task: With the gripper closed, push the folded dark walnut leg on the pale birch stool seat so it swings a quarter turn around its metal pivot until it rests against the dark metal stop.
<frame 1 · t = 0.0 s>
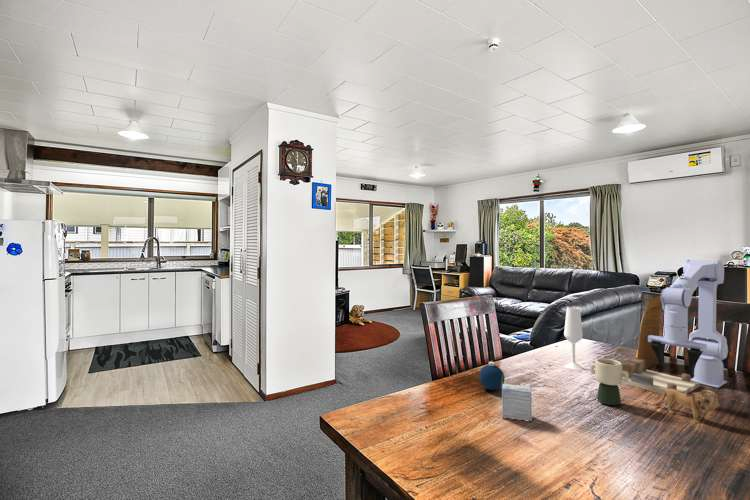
hand: (676, 368, 117), 10 cm above the table, tool pointing down, fingers open, 7 cm apart
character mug: (608, 403, 116), on the table
medicine box: (516, 418, 107), on the table
christmas ornament: (491, 389, 128), on the table
champagne flute: (573, 367, 151), on the table
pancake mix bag: (649, 365, 153), on the table
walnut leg: (633, 367, 138), point 4 cm above the table, hinge at 0.0°
lion figurine: (687, 416, 107), on the table
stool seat: (651, 382, 133), on the table
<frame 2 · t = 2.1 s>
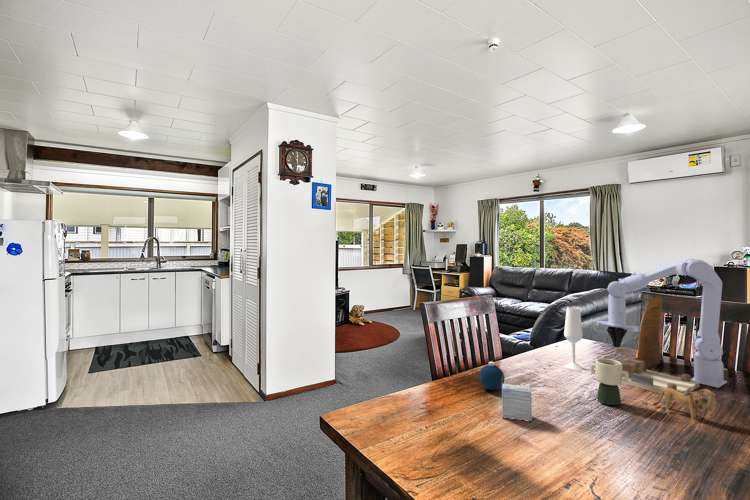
hand: (617, 346, 146), 9 cm above the table, tool pointing down, fingers closed
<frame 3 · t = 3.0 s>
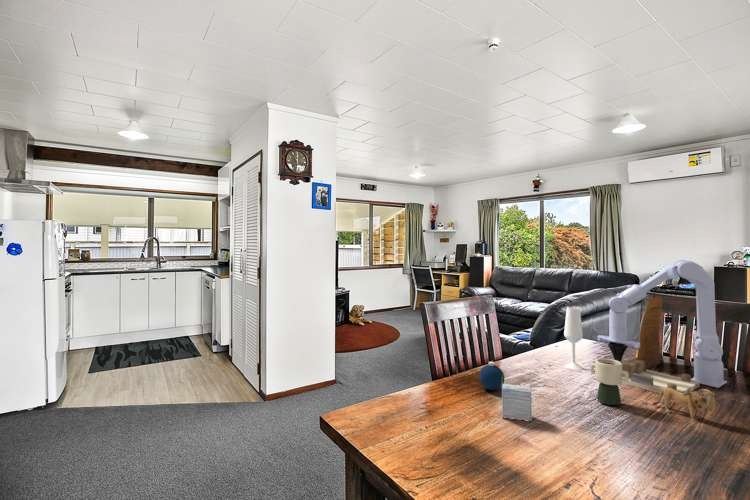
hand: (618, 362, 146), 3 cm above the table, tool pointing down, fingers closed
nothing on the table moved.
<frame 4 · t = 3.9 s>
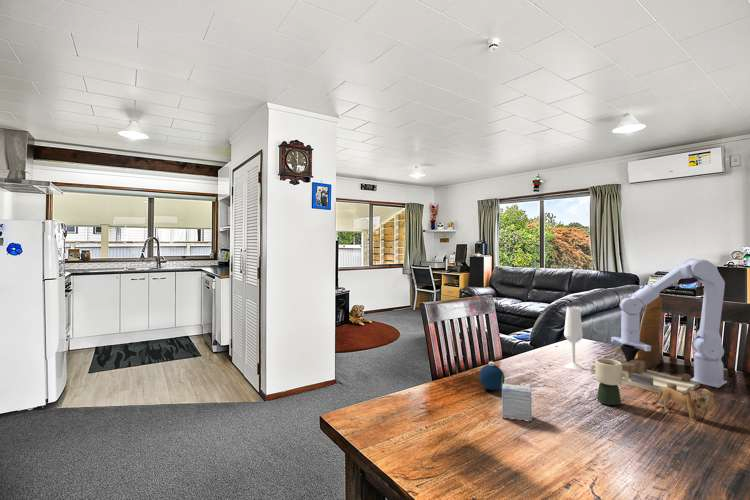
hand: (630, 365, 142), 3 cm above the table, tool pointing down, fingers closed, pressing on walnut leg
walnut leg: (633, 367, 138), point 4 cm above the table, hinge at 1.1°, touching gripper
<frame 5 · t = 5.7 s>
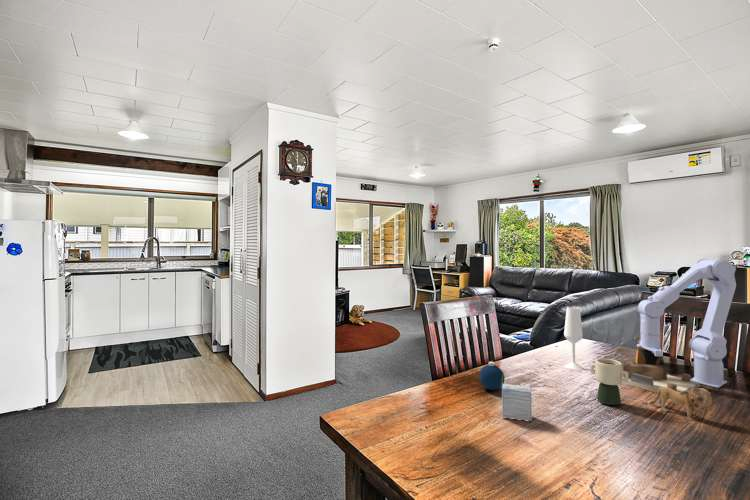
hand: (650, 370, 135), 3 cm above the table, tool pointing down, fingers closed, pressing on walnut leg
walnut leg: (643, 370, 134), point 4 cm above the table, hinge at 45.9°, touching gripper
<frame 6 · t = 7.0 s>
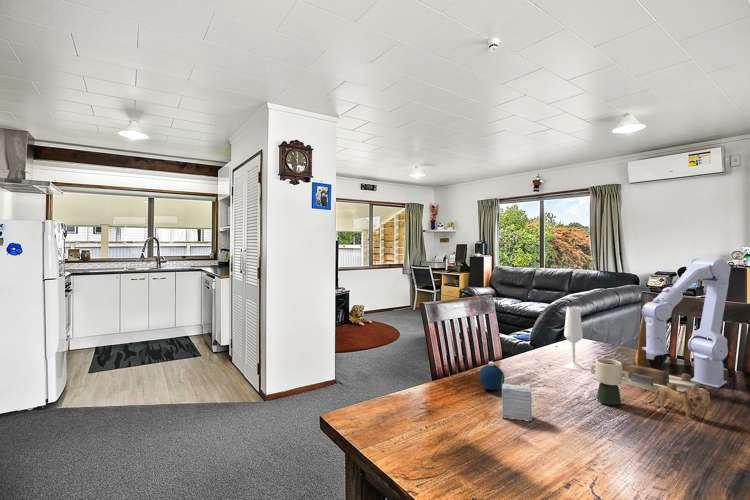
hand: (656, 375, 130), 3 cm above the table, tool pointing down, fingers closed, pressing on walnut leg
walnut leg: (644, 373, 131), point 4 cm above the table, hinge at 81.3°, touching gripper
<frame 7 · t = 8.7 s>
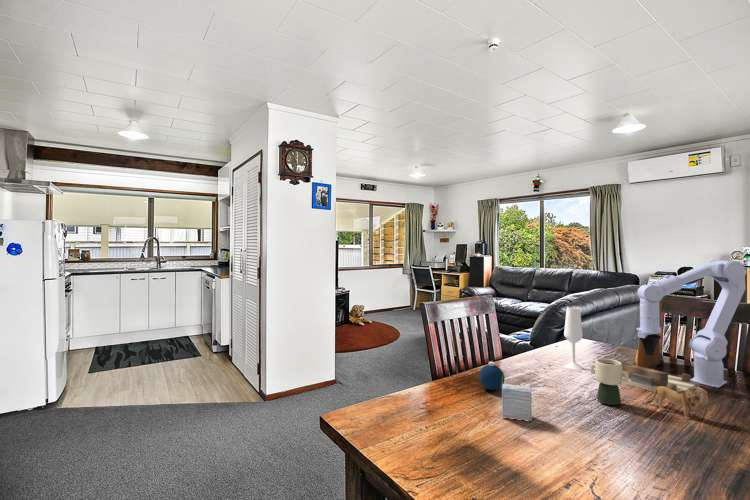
hand: (649, 354, 136), 9 cm above the table, tool pointing down, fingers closed
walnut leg: (643, 374, 131), point 4 cm above the table, hinge at 91.3°
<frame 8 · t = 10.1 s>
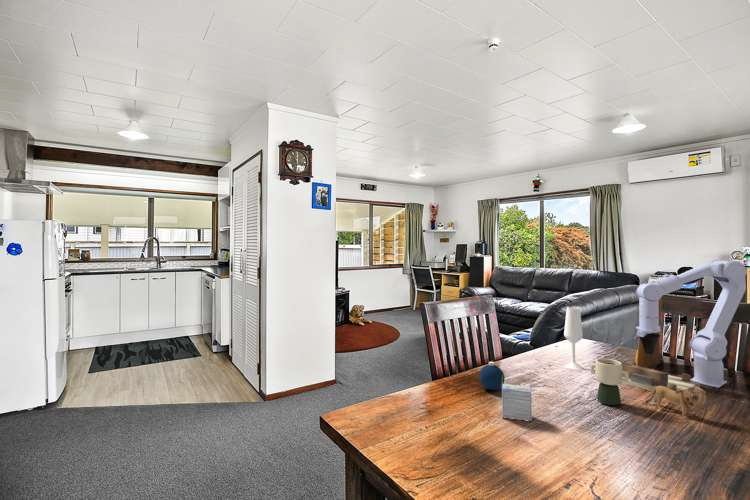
hand: (649, 353, 136), 9 cm above the table, tool pointing down, fingers closed
at the end: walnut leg at +91° (first picture: +0°) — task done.
